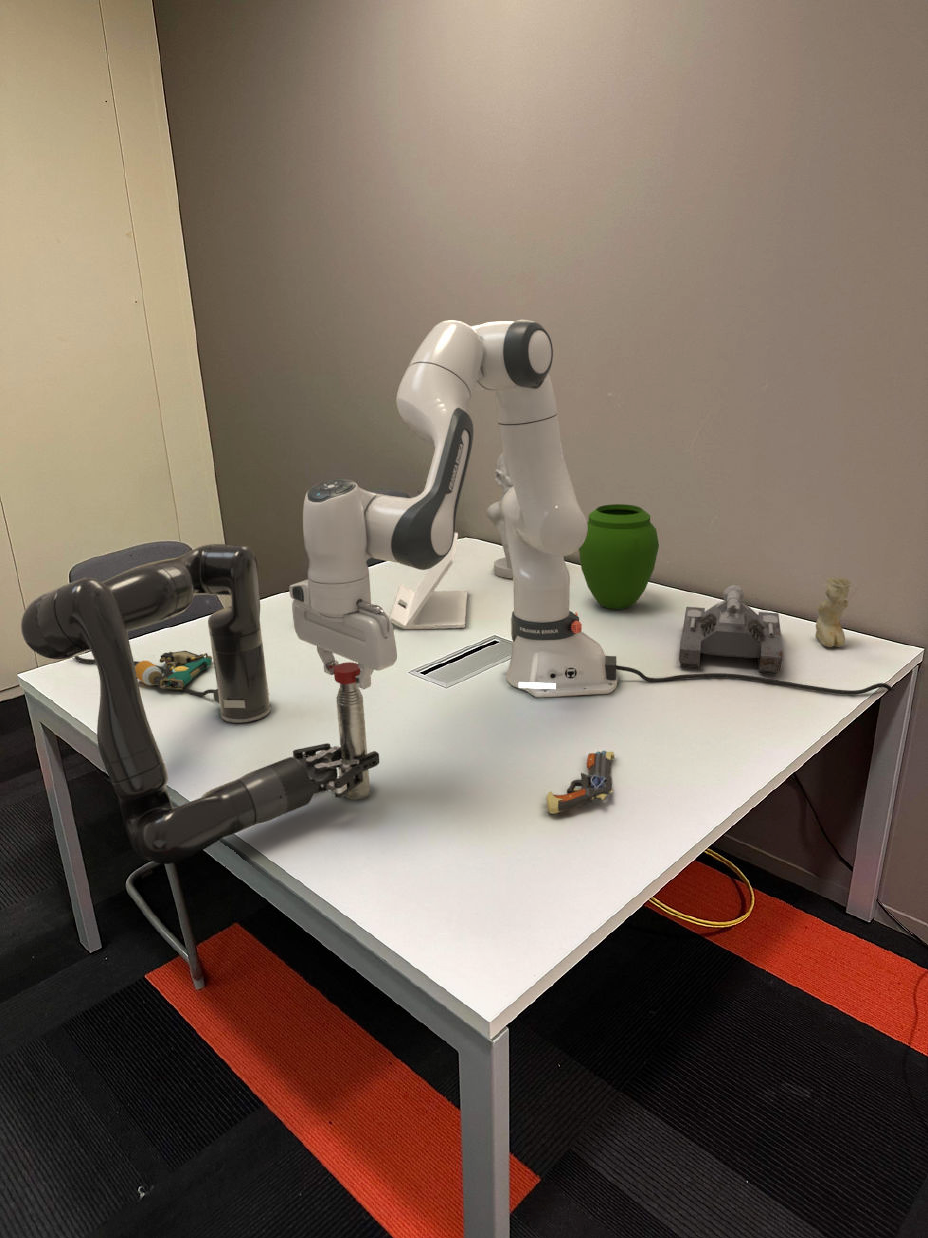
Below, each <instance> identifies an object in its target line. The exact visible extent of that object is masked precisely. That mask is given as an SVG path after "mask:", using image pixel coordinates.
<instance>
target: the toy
mask: <svg viewBox="0 0 928 1238" xmlns="http://www.w3.org/2000/svg"><path fill="white" fill-rule="evenodd" d="M722 595H723V599H724V600H722V601H719V602H718V603H716V604H714V605H712V607H710V608H709V609H707V610H706V608H705V607H698V606H686V607H685V612H684V613H685V614H684V618H683V619H684V620H683V625H682V631H681V637H680V643H679V644H680V645H679V654H678V662H679V665H680V667H689V668H700V667H699V666H700V661H701V654H703V655H706V656H707V655H708V656H718V657H719V656H720V657H729V658H741V659H743V658H744V659H758V672H761V673H771V674H779V673H781V671H782V665H783V663H784V662H783V660H784V647H783V638H782V632H781V631H782V630H781V623H780V614H779V612H769V611H767V612H766V611H758V613H757V612H755V611H754V610H753V609H752V608H751V607H750V606H749V605H748V604H746V603H744V602H743V601H742V600H743V599H744V595H745V594H744V590H743V588H742V587H741V586H739V585H735V584H733V585H732V584H731V585H729V586H727V588H725V589H724V591H723V594H722Z"/></svg>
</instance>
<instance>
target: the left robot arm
mask: <svg viewBox="0 0 928 1238" xmlns="http://www.w3.org/2000/svg"><path fill="white" fill-rule="evenodd" d="M199 595H206V596H207V595H208V596H226V597H227V596H229V597H230V598H231V606H227V607H224V608H221V609H219V610H216V611H214V612H213V613H212V614H210V615H209V617H208V619H207V627H208V633H209V640H210V646H211V653H212V660H213V661H212V662H213V667H214V674H215V681H216V689H213V688H212V689H210V688H209V689H206V690H204V691H196V690H192V689H190V688H188V687H186V685H185V686H183V688H182V689H181V690H182V691H184V692H186V693H188V694H190V695H194V696H197V697H205V696H207V695H209V694H213V700H214V702H215V703H218V704H219V708H220V710H219V714H220V717H221V719H222V720H224V721H225V722H228V723H233V724H244V723H250V722H254V721H259V720H261V719H262V718H264V717H266V716H268V715H269V713H270V712H271V710H272V707H271V706H272V705H271V703H270V702H271V701H270V695H269V686H268V679H267V677H268V675H267V668H266V660H265V652H264V644H263V643H264V642H263V636H262V629H261V620H260V619H261V597H260V582H259V569H258V561H257V557H256V554H255V552H254V551H253V549H252V548H251V547H250V546H248V545H244V544H223V543H210V544H203V545H201V546H198V547H196V548H194V549H192V550H190V551H188V552H187V553H183V554H182V555H180V556H177V557H172V558H166V559H161V560H156V561H152V562H149V563H145V564H142V565H138V566H134V567H133V568H130V569H128V570H125V571H123V572H121V573H119V574H117V575H114V576H113V577H110V578H108V579H106V580H104V581H101V580H98V579H96V578H93V577H83V578H80V579H78V580H74V581H72V582H69V583H67V584H65V585H62V586H59V587H57V588H54V589H53V590H50V591H48V592H46V593H43V594H41V595H39V596H38V597H36V598H35V599H34V600H32V601H31V602H30V603H29V604H28V606H27V607H26V609H25V610H24V612H23V614H22V617H21V622H20V630H21V635H22V638H23V641H24V642H25V643H26V645H27V646H28V647H29V648H30V649H31V651H33V652H34V653H36V654H37V655H39V656H41V657H44V658H47V659H52V660H67V659H72V658H73V659H75V660H77V661H78V662H81V663H88V664H96V667H97V668H96V669H97V672H98V676H99V691H100V694H99V695H100V697H99V706H98V717H97V724H96V725H97V726H96V737H97V740H96V741H97V746H98V751H99V755H100V757H101V760H102V763H103V765H104V767H105V770H106V773H107V775H108V777H109V780H110V782H111V785H112V787H113V790H114V791H115V793H116V795H117V799H118V802H119V808H120V812H121V816H122V820H123V824H124V828H125V831H126V835H127V836H128V840H129V842H130V844H131V846H132V848H133V850H134V852H136V854H137V855H138V856H139V857H140V858H142V859H143V860H146V861H150V862H153V863H157V864H161V865H170V864H175V863H178V862H181V861H183V860H186V859H188V858H190V857H193V856H195V855H197V854H198V853H200V852H202V851H203V850H205V849H207V848H209V847H210V846H212V845H214V844H215V843H217V842H219V841H220V840H222V839H223V838H226V837H229V836H232V835H235V834H237V833H239V832H242V831H244V830H246V829H249V828H251V827H253V826H256V825H260V824H264V823H266V822H269V821H271V820H275V819H276V818H278V817H281V816H283V815H287V814H288V813H291V812H292V811H295V810H297V809H299V808H302V807H305V806H307V805H308V804H309V803H310V802H311V801H312V798H313V797H314V796H315V795H316V794H319V793H325V792H327V791H329V792H333V793H334V797H335V798H336V799H342V798H343V797H345V795H346V794H347V793H348V792H350V791H351V790H352V789H354V788H355V787H356V786H358V785H359V784H360V783H362V782H363V771H366V770H370V769H373V768H375V767H377V766H378V765H379V764H380V754H379V753H380V752H377V751H376V750H373V751H371V752H367V754H366V755H363V756H361V757H358V758H356V759H354V760H350V761H346V762H343V761H342V757H341V746H339V745H334V746H331V744H330V743H328V742H327V743H326V742H325V743H322V744H321V743H320V744H316V745H312V746H306V747H303V748H298V749H293V750H292V756H289V757H285V758H283V759H281V760H279V761H276V762H274V763H270V764H268V765H266V766H263V767H261V768H258V769H256V770H253V771H251V772H250V771H249V773H246V774H245V775H243V776H241V777H239V778H237V779H235V780H232V781H230V782H227V783H225V784H222V785H219V786H216V787H214V788H211V789H209V790H207V791H206V792H205V793H203V794H202V796H201V797H199V798H196V799H194V800H192V801H189V802H185V803H184V804H181V805H179V806H178V805H177V806H175V807H174V806H173V803H172V800H171V797H170V794H169V791H168V788H167V785H168V782H169V773H168V770H167V767H166V764H165V762H164V759H163V756H162V754H161V752H160V749H159V746H158V744H157V741H156V739H155V736H154V734H153V730H152V728H151V725H150V723H149V720H148V717H147V714H146V711H145V706H144V702H143V699H142V695H141V690H140V684H139V679H137V674H136V670H135V666H136V665H137V664H138V663H139V662H140V661H137V660H135V659H134V656H133V652H132V649H131V643H130V639H129V635H128V632H131V631H135V630H137V629H141V628H146V627H148V626H152V625H155V624H159V623H162V622H165V621H167V620H169V619H172V618H174V617H177V616H179V615H180V614H183V612H185V611H186V610H187V609H189V607H190V606H191V604H192V603H193V601H194V598H195V596H199ZM88 652H91V655H92V658H93V659H92V658H91V659H90V658H83V657H80V655H82V654H85V653H88ZM154 665H155V666H157V667H158V668H159V669H160V670H161V672H163V673H164V671H165V670H166V669H167V668H165V667H162V666H160V665H157V664H154ZM179 688H181V687H179ZM317 752H318V753H317ZM349 767H352V769H350V770H349V771H348V772H346V768H349ZM354 777H355V778H354Z"/></svg>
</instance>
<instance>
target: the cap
mask: <svg viewBox="0 0 928 1238" xmlns="http://www.w3.org/2000/svg"><path fill="white" fill-rule="evenodd" d="M360 672H361V669H359V668H358V663H357V662H353V661H352V662H350V661H349V662H347V661H346V662H342V663H338V665H336V666H335V667H334V675H333V676H334V677H333V678H334V681H335V682H336V683H337V684H339V685H340V684H352V683H355V682H356V680H355V677H356V676H358V675H360Z"/></svg>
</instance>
